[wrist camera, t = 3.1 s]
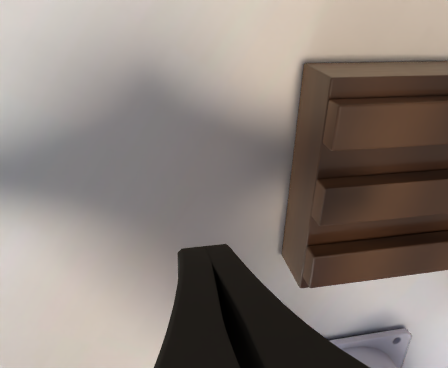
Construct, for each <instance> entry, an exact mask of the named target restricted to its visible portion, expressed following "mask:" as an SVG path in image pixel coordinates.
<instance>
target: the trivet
mask: <svg viewBox="0 0 448 368" xmlns="http://www.w3.org/2000/svg"><path fill="white" fill-rule="evenodd" d="M282 256H283V258H284V260H285V262H286V264H287V266H288V267H289V269H290V271H291V273H292V275H293V276H294V278H295V280H296V282H297V284H298V286H299V287H300V288H307V287H309V288H315V287H323V286H331V285H338V284H346V283H353V282H361V281H368V280H376V279H383V278H391V277H398V276H406V275H413V274H421V273H428V272H436V271H443V270H448V61H430V62H361V63H305V64H304V69H303V77H302V86H301V94H300V103H299V111H298V120H297V129H296V137H295V146H294V154H293V163H292V171H291V180H290V188H289V197H288V206H287V214H286V223H285V231H284V240H283V248H282Z"/></svg>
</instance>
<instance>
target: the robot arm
mask: <svg viewBox="0 0 448 368" xmlns="http://www.w3.org/2000/svg"><path fill="white" fill-rule="evenodd" d="M411 337H412V335H411V333H410V332H409V331H408V330H407V329H397V330H390V331H384V332H378V333H372V334H366V335H360V336H353V337H347V338H341V339H335V340H329V341H328V340H327V339H326V338H324V337H323V336H322V335H320V334H319V333H318V332H316V331H315V330H314V329H312V328H311V327H310V326H309V325H307V324H306V323H305V322H304V321H303V320H301V319H300V318H299V317H298V316H297V315H295V314H294V313H293V312H292V311H291V310H290V309H289V308H288V307H286V306H285V305H284V304H283V303H282V302H281V301H280V300H279V299H278V298H277V297H276V296H275V295H274V294H273V293H272V292H271V291H270V290H269V289H268V288H267V287H266V286H265V285H263V284H262V283H261V282H260V281H259V279H258V278H257V277H256V276H255V275H254V274H253V273H252V272H251V271H250V270H249V269H248V268H247V267H246V265H245V264H244V263H243V262H242V261H241V260H240V259H239V257H238V256H237V255H236V254H235V253H234V252H233V250H232V249H231V248H230V247H229V246H228V245H227V244H222V245H212V246H203V247H193V248H184V249H181V250H180V251H179V252H178V285H177V290H176V296H175V301H174V306H173V310H172V314H171V317H170V321H169V325H168V328H167V332H166V335H165V338H164V341H163V344H162V347H161V350H160V353H159V355H158V358H157V361H156V364H155V366H154V368H401V367H402V364H403V361H404V358H405V355H406V352H407V349H408V346H409V343H410V340H411Z"/></svg>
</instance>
